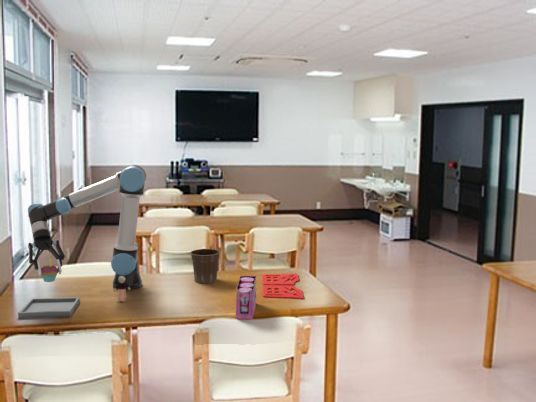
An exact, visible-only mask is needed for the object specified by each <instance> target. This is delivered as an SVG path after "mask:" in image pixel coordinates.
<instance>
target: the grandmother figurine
mask: <svg viewBox="0 0 536 402" xmlns="http://www.w3.org/2000/svg"><path fill="white" fill-rule="evenodd" d="M124 281H125V277H124V276H120V277H119V282H120V283H118V284H117V285H116V287H115V288H114V289H113V292H117V300H116V303H121V302H122V303H126V302H127V300H126V299H127V290H126V289H125V287H126V288H128V291H131V289H130V287H129V285H128V284H126V283H124ZM117 288H119V289H117Z"/></svg>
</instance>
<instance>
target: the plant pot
mask: <svg viewBox="0 0 536 402" xmlns="http://www.w3.org/2000/svg"><path fill="white" fill-rule="evenodd" d="M189 254H190V255H191V261H192V270H193V276H194V278H193V280H194V282H196V283H199V284H202V283H204V284H209V283H210V284H212V283H215V282H217V280H218V266H219V258H220V254H221V251H220V250H219V249H216V248H215V249H214V248H198V249H194V250H191V251H190V252H189Z"/></svg>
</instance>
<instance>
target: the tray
mask: <svg viewBox="0 0 536 402" xmlns="http://www.w3.org/2000/svg"><path fill="white" fill-rule="evenodd" d="M80 298H81V297H78V296H77V297H41V298H39V297H37V298H31V299H30V300H29V301H28V302H27V303H26V304H24V306H23V307H22V308H21V309H20V310H19V311H18V312H17V317H18V319H39V318H68V317H71V316H72V315H73V313H74V312H75V311H76V309H77V307H78V306H79V304H80V303H81V299H80Z"/></svg>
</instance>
